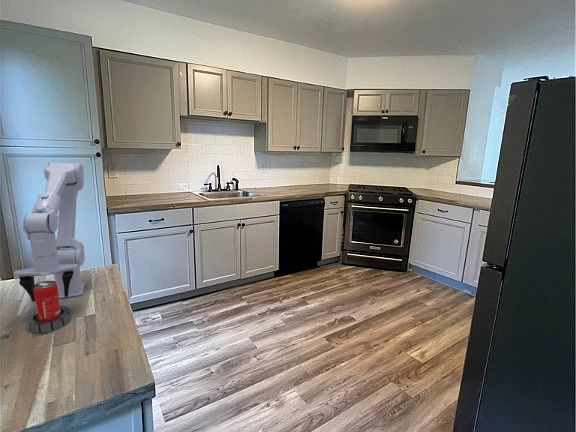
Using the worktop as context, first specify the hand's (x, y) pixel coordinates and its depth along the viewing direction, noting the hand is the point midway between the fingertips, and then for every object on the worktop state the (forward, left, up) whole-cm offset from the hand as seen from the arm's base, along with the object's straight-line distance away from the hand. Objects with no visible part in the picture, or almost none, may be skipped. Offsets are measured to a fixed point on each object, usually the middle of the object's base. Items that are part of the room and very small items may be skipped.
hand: (50, 297), depth 93 cm
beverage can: (+6, 0, -6) cm, 8 cm away
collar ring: (+5, 0, -5) cm, 7 cm away
